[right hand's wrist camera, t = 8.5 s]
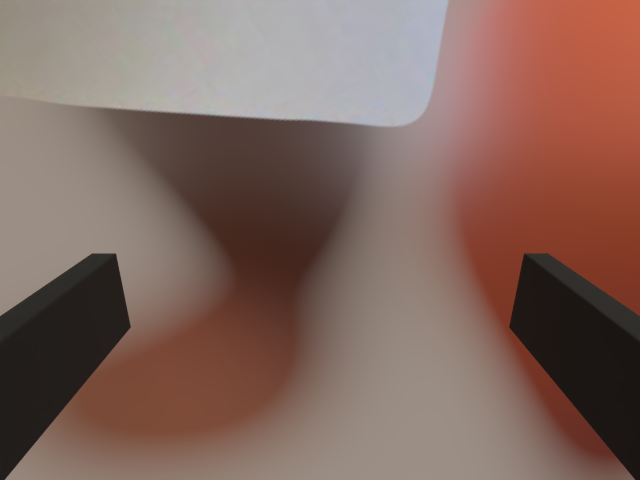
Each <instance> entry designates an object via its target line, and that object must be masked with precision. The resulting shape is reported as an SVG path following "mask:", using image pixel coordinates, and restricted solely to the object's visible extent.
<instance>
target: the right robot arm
mask: <svg viewBox="0 0 640 480" xmlns="http://www.w3.org/2000/svg"><path fill="white" fill-rule="evenodd" d="M130 327H131V326H130V321H129V316H128V312H127V307H126V302H125V297H124V292H123V287H122V282H121V277H120V272H119V267H118V262H117V257H116V254H91V255H89V256H88V257H86V258H85V259H83V260H82V261H81V262H79V263H78V264H76V265H75V266H73V267H72V268H70V269H69V270H67V271H66V272H64V273H63V274H61V275H60V276H59V277H57V278H56V279H54V280H53V281H51V282H50V283H48V284H47V285H45V286H44V287H42V288H41V289H40V290H38V291H37V292H35V293H34V294H32V295H31V296H29V297H28V298H26V299H25V300H23V301H22V302H20V303H19V304H18V305H16V306H15V307H13V308H12V309H10V310H9V311H7V312H6V313H4V314H3V315H1V316H0V480H5V479H6V477H7V476H8V475H9V474H10V473H11V471H12V470H13V469H14V468H15V467H16V465H17V464H18V463H19V462H20V460H21V459H22V458H23V457H24V456H25V454H26V453H27V452H28V451H29V450H30V448H31V447H32V446H33V445H34V443H35V442H36V441H37V440H38V439H39V437H40V436H41V435H42V434H43V433H44V431H45V430H46V429H47V428H48V427H49V425H50V424H51V423H52V422H53V421H54V419H55V418H56V417H57V416H58V415H59V413H60V412H61V411H62V410H63V408H64V407H65V406H66V405H67V404H68V402H69V401H70V400H71V399H72V398H73V396H74V395H75V394H76V393H77V392H78V390H79V389H80V388H81V387H82V385H83V384H84V383H85V382H86V381H87V379H88V378H89V377H90V376H91V375H92V373H93V372H94V371H95V370H96V369H97V367H98V366H99V365H100V364H101V362H102V361H103V360H104V359H105V358H106V356H107V355H108V354H109V353H110V352H111V350H112V349H113V348H114V347H115V346H116V344H117V343H118V342H119V341H120V339H121V338H122V337H123V336H124V335H125V333H126V332H127V331H128V330H129V329H130ZM509 327H510V329H511V330H512V331H513V332H514V333H515V335H516V336H517V337H518V338H519V339H520V341H521V342H522V343H523V344H524V345H525V347H526V348H527V349H528V350H529V352H530V353H531V354H532V355H533V356H534V358H535V359H536V360H537V361H538V362H539V364H540V365H541V366H542V367H543V368H544V370H545V371H546V372H547V373H548V374H549V376H550V377H551V378H552V379H553V381H554V382H555V383H556V384H557V385H558V387H559V388H560V389H561V390H562V391H563V393H564V394H565V395H566V396H567V398H568V399H569V400H570V401H571V402H572V404H573V405H574V406H575V407H576V408H577V410H578V411H579V412H580V413H581V415H582V416H583V417H584V418H585V419H586V421H587V422H588V423H589V424H590V425H591V426H592V428H593V429H594V430H595V431H596V433H597V434H598V435H599V436H600V437H601V439H602V440H603V441H604V442H605V444H606V445H607V446H608V447H609V448H610V450H611V451H612V452H613V453H614V454H615V456H616V457H617V458H618V459H619V460H620V462H621V463H622V464H623V465H624V466H625V468H626V469H627V470H628V471H629V473H630V474H631V475H632V476H633V477H634V479H635V480H640V316H639V315H637V314H636V313H634V312H633V311H631V310H630V309H628V308H627V307H625V306H624V305H622V304H621V303H620V302H618V301H617V300H615V299H614V298H612V297H611V296H609V295H608V294H606V293H605V292H603V291H602V290H601V289H599V288H598V287H596V286H595V285H593V284H592V283H590V282H589V281H587V280H586V279H584V278H583V277H581V276H580V275H579V274H577V273H576V272H574V271H573V270H571V269H570V268H568V267H567V266H565V265H564V264H562V263H561V262H559V261H558V260H557V259H555V258H554V257H552V256H551V255H549V254H524V257H523V262H522V267H521V272H520V277H519V282H518V287H517V292H516V297H515V302H514V306H513V311H512V316H511V322H510V326H509Z"/></svg>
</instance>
